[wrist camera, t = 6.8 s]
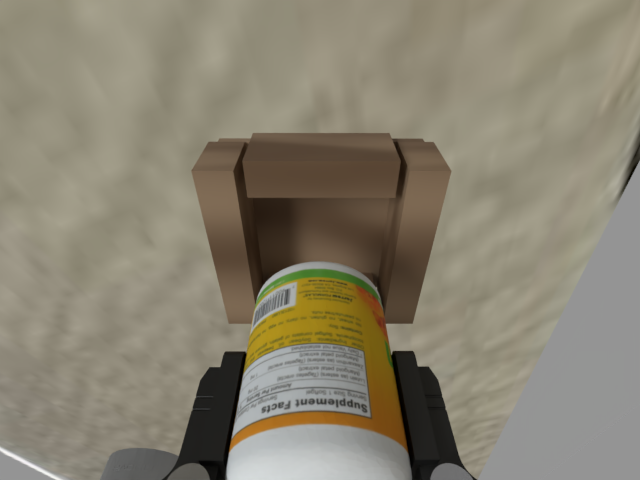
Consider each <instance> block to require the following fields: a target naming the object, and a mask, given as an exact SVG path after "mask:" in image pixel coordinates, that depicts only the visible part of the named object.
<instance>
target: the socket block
mask: <svg viewBox="0 0 640 480" xmlns="http://www.w3.org/2000/svg"><path fill="white" fill-rule="evenodd" d="M191 172H192V176H193V180H194V184H195V188H196V192H197V196H198V201H199V205H200V209H201V213H202V217H203V221H204V225H205V229H206V233H207V237H208V241H209V245H210V250H211V254H212V258H213V262H214V266H215V270H216V274H217V278H218V282H219V286H220V290H221V294H222V299H223V303H224V307H225V311H226V315H227V319H228V323H229V324H252V319H253V314H254V309H255V305H256V301H257V297H258V294H259V292H260V290H261V288H262V287H263V285H264V284H265V283H266V282H267V280H268V279H269V278H271V277H272V276H273V275H274V274H276V273H277V272H279V271H281V270H283V269H285V268H287V267H290V266H293V265H296V264H300V263H305V262H314V261H324V262H333V263H339V264H342V265H346V266H349V267H351V268H353V269H355V270H357V271H359V272H360V273H362V274H363V275H365V276H366V277H367V278H368V279H369V280H370V281H371V282H372V283H373V284H374V286H375V287H377V291H378V293H379V295H380V298H381V303H382V307H383V312H384V317H385V323H386V324H413V321H414V317H415V313H416V309H417V305H418V301H419V297H420V293H421V289H422V285H423V281H424V277H425V274H426V270H427V266H428V262H429V258H430V254H431V250H432V246H433V242H434V238H435V234H436V230H437V226H438V222H439V219H440V215H441V211H442V207H443V203H444V199H445V195H446V191H447V187H448V183H449V179H450V175H451V169H450V168H449V166H448V164H447V163H446V161H445V159H444V158H443V156H442V155H441V153H440V151H439V150H438V148H437V146H436V145H435V143H434V142H424V140H423V139H392V138H391V135H390V133H253V134H252V137H251V138H219V140H218V142H208V143H207V145H206V147H205V149H204V150H203V152H202V154H201V155H200V157H199V159H198V160H197V162H196V164H195V165H194V167H193V169H192V170H191Z"/></svg>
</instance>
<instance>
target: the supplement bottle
mask: <svg viewBox="0 0 640 480" xmlns="http://www.w3.org/2000/svg"><path fill="white" fill-rule="evenodd" d="M225 480H412V473H411V465H410V457H409V452H408V446H407V440H406V435H405V429H404V423H403V418H402V412H401V407H400V401H399V395H398V390H397V384H396V378H395V372H394V366H393V361H392V355H391V350H390V345H389V339H388V334H387V328H386V323H385V317H384V312H383V307H382V303H381V298H380V295H379V293H378V291H377V289H376V287H375V286H374V284H373V283H372V282H371V281H370V280H369V279H368V278H367V277H366V276H365V275H363V274H362V273H360V272H359V271H357V270H355V269H353V268H351V267H349V266H346V265H342V264H339V263H333V262H324V261H314V262H305V263H300V264H296V265H293V266H290V267H287V268H285V269H283V270H281V271H279V272H277V273H276V274H274V275H273V276H272V277H271V278H269V279H268V280H267V282H266V283H265V284H264V285H263V287H262V288H261V290H260V292H259V294H258V297H257V301H256V305H255V309H254V314H253V319H252V325H251V330H250V336H249V342H248V347H247V353H246V358H245V364H244V369H243V375H242V380H241V386H240V391H239V396H238V402H237V407H236V413H235V418H234V423H233V429H232V435H231V440H230V446H229V452H228V459H227V466H226V474H225Z"/></svg>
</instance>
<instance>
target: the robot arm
mask: <svg viewBox="0 0 640 480" xmlns="http://www.w3.org/2000/svg"><path fill="white" fill-rule="evenodd" d="M245 358H246V352H245V351H225V353H224V355H223V358H222V362H221V366H220V367H209V369H208V370H207V371H206V373H205V374H204V376H203V377H202V378H201V380H200V383H199V386H198V390H197V393H196V398H195V400H194V404H193V407H192V408H193V409H192V411H191V415H190V418H189V422H188V425H187V429H186V432H185V436H184V440H183V443H182V447H181V450H180V454H179V456H177V455H175V454H173V453H169V452H166V451H162V450H157V449H149V448H128V449H122V450H119V451H116V452H114V453H112V454H111V455H110V456H109V459H108V461H107V463H106V466H105V468H104V471H103V473H102V475H101V478H100V480H225V474H226V466H227V459H228V452H229V446H230V440H231V435H232V429H233V423H234V418H235V413H236V407H237V402H238V396H239V391H240V386H241V380H242V375H243V369H244V364H245ZM392 361H393V366H394V372H395V378H396V384H397V390H398V395H399V401H400V407H401V412H402V418H403V423H404V429H405V435H406V440H407V446H408V452H409V457H410V465H411V473H412V480H477V479H476V478H474V477H473V476H472V475H471V474H470V473H469V472H468V471H467V469H466V468H465V467H464V465H463V463H462V461H461V459H460V457H459V454H458V450H457V446H456V443H455V439H454V435H453V432H452V428H451V425H450V421H449V417H448V414H447V410H446V406H445V403H444V399H443V397H442V392H441V388H440V385H439V381H438V379H437V377H436V376H435V375H434V373H433V372H432V370H431V369H430V368H429V366H418V365H417V360H416V356H415V353H414V352H413V351H393V352H392Z"/></svg>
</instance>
